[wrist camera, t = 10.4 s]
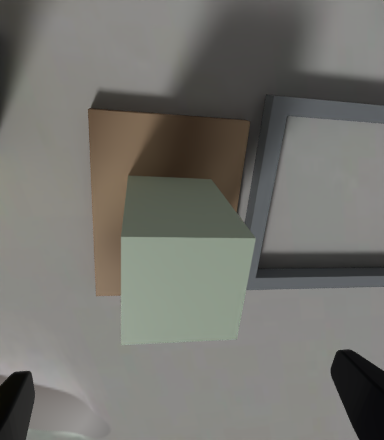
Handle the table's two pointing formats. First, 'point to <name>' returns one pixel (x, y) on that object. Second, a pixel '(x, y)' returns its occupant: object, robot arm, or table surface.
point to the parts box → (181, 262)
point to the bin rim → (263, 188)
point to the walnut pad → (153, 168)
